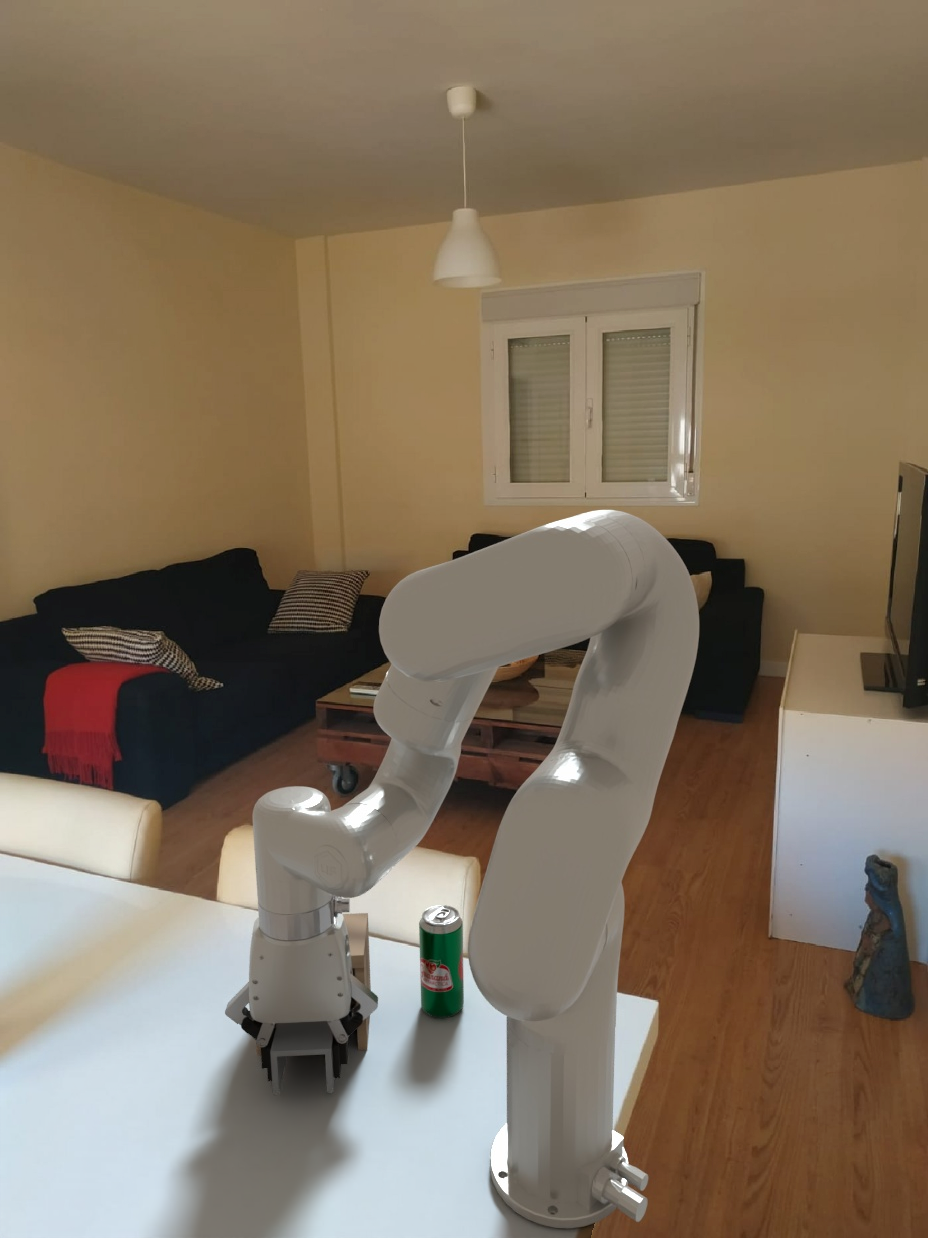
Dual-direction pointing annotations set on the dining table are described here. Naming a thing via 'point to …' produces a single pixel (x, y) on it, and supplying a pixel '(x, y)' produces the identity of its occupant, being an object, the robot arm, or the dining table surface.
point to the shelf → (358, 965)
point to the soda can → (441, 961)
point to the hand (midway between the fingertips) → (305, 1069)
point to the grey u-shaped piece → (301, 1048)
